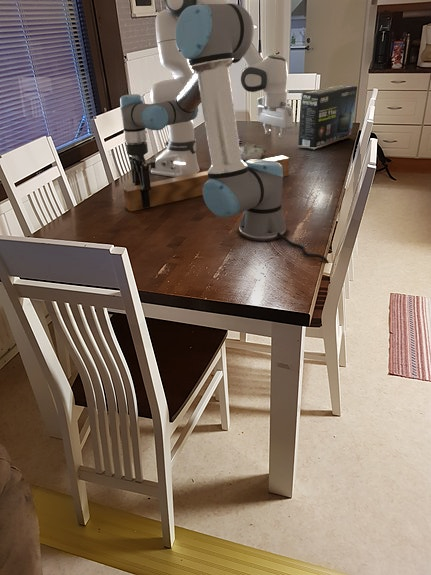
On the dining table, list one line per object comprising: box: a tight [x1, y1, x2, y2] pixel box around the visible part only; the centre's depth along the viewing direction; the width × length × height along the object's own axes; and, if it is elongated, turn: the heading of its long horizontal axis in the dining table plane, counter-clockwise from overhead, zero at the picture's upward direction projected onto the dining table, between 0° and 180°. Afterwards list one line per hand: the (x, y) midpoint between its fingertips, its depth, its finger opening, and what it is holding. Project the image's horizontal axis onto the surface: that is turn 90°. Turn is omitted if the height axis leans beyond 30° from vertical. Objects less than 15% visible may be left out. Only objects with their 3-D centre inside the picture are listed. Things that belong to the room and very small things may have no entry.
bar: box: [123, 155, 290, 213], centre depth 184 cm, size 73×4×8 cm, turn 120°
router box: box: [297, 84, 358, 151], centre depth 238 cm, size 36×11×27 cm, turn 134°
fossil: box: [239, 141, 267, 162], centre depth 224 cm, size 18×11×15 cm
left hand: (274, 136), depth 190 cm, fingers open, 8 cm apart
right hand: (143, 204), depth 174 cm, fingers closed on bar, 5 cm apart
